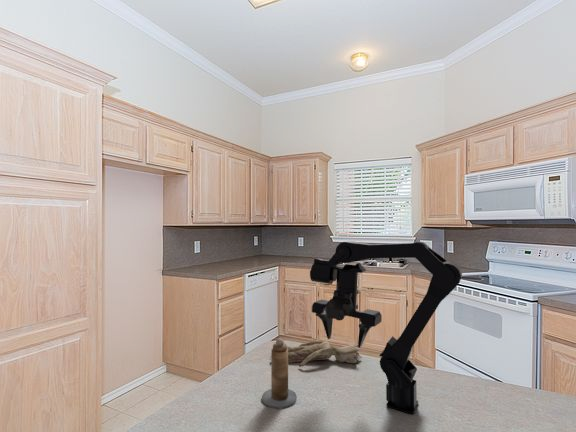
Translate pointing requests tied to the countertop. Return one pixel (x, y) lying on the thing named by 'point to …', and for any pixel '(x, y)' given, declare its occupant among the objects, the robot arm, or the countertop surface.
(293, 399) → the coaster
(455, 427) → the countertop surface
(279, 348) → the pepper mill
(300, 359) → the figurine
